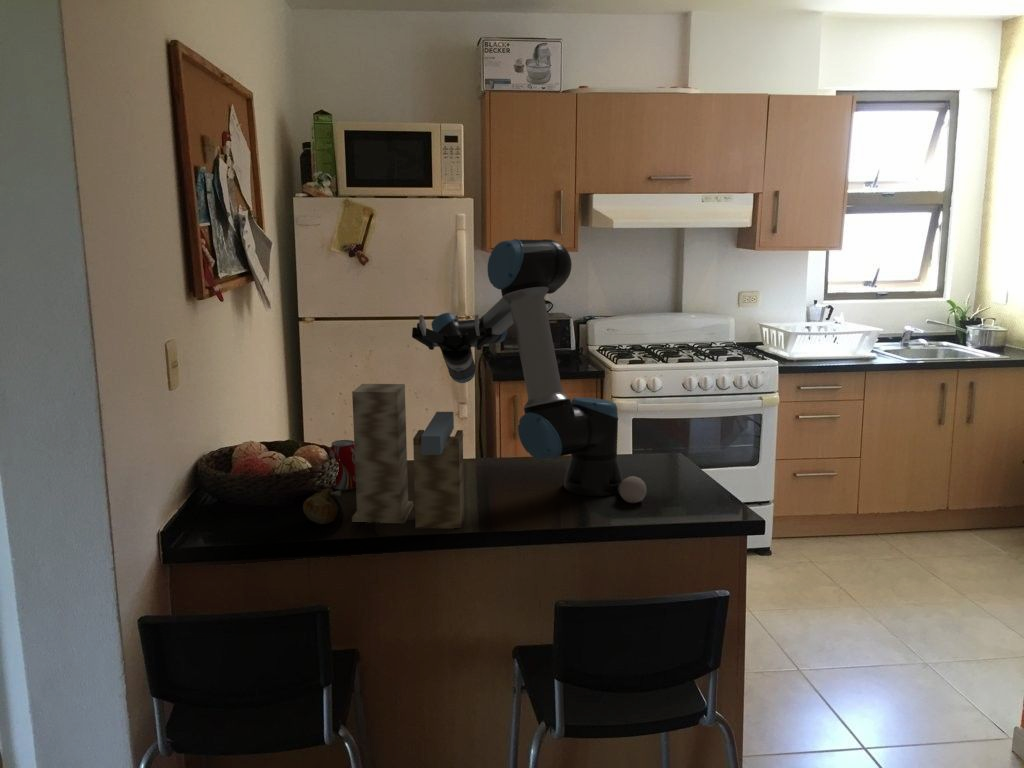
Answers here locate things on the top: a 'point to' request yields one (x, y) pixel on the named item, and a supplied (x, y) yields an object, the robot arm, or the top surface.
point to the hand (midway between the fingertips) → (448, 320)
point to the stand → (380, 453)
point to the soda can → (344, 464)
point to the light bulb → (632, 489)
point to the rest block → (439, 484)
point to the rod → (437, 433)
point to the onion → (321, 506)
